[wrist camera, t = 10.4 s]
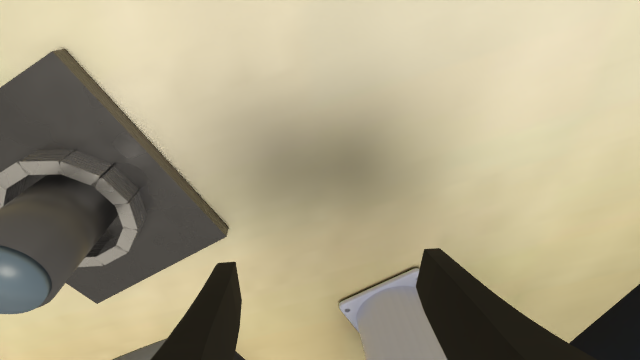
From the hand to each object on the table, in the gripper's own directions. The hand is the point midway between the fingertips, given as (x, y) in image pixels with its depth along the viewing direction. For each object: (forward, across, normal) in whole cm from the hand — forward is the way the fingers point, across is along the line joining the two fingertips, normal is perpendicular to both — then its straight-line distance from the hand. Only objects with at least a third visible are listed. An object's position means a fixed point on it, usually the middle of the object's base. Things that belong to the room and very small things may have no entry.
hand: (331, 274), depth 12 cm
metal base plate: (+10, +15, +2) cm, 18 cm away
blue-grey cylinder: (+9, +15, +2) cm, 18 cm away
